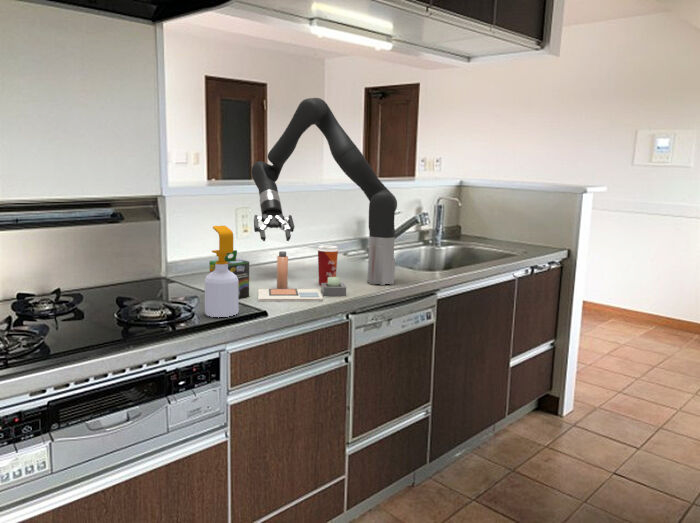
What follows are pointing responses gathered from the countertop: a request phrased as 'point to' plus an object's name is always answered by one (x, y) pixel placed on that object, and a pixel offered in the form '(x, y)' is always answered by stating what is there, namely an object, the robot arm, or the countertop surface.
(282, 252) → the orange bottle with cap
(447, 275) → the countertop surface
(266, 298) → the board
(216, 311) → the soap bottle
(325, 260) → the paper cup
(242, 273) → the chalk box
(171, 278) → the countertop surface
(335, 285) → the button
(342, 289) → the frame
